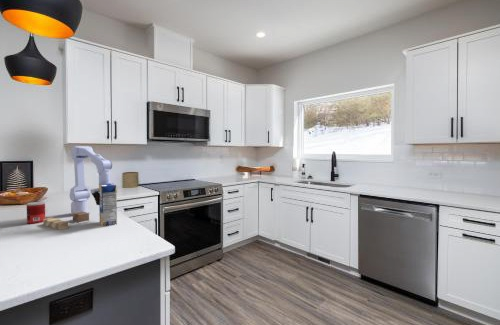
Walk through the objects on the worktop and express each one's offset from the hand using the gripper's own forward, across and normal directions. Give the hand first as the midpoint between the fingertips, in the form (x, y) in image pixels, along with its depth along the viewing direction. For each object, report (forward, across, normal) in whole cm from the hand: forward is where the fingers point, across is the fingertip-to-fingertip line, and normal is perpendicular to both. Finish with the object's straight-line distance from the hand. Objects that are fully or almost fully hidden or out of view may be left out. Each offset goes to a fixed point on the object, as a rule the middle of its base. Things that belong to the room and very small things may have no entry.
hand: (104, 203), depth 144 cm
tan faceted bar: (+10, -20, +11) cm, 25 cm away
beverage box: (+10, -2, -7) cm, 12 cm away
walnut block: (+10, -7, +12) cm, 17 cm away
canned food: (+10, -22, +29) cm, 38 cm away
